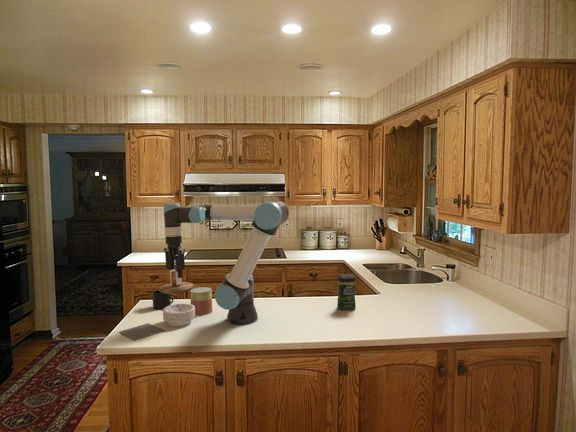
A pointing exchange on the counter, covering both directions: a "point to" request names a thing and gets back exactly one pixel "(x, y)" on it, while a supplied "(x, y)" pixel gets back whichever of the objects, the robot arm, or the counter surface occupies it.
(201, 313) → the canned food
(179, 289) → the lid
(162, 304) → the mug
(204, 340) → the counter surface
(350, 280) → the coffee jar
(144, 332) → the mat
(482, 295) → the counter surface
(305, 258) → the counter surface
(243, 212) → the robot arm
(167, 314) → the speckled bowl
